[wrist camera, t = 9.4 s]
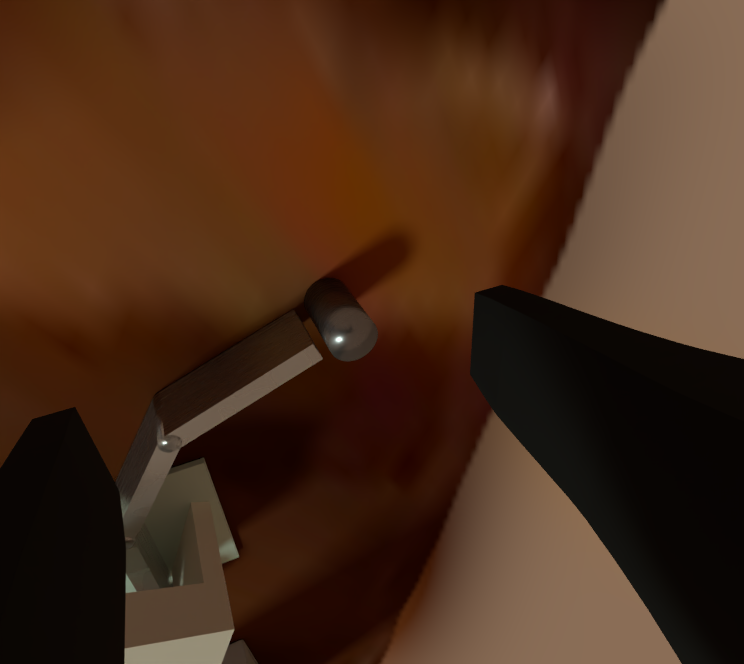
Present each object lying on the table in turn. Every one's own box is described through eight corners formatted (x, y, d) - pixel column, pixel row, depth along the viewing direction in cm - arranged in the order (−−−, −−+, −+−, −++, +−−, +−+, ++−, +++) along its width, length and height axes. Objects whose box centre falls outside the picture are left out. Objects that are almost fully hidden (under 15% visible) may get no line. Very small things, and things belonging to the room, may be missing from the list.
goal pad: (88, 609, 25) (88, 615, 24) (21, 517, 21) (19, 524, 20) (237, 552, 27) (239, 557, 26) (203, 457, 23) (204, 462, 22)
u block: (189, 569, 25) (207, 700, 21) (74, 582, 23) (67, 734, 18) (209, 501, 24) (234, 629, 19) (87, 507, 21) (82, 656, 17)
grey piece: (60, 607, 24) (56, 675, 22) (220, 238, 18) (238, 277, 16) (183, 601, 27) (191, 660, 25) (355, 285, 21) (386, 324, 19)
